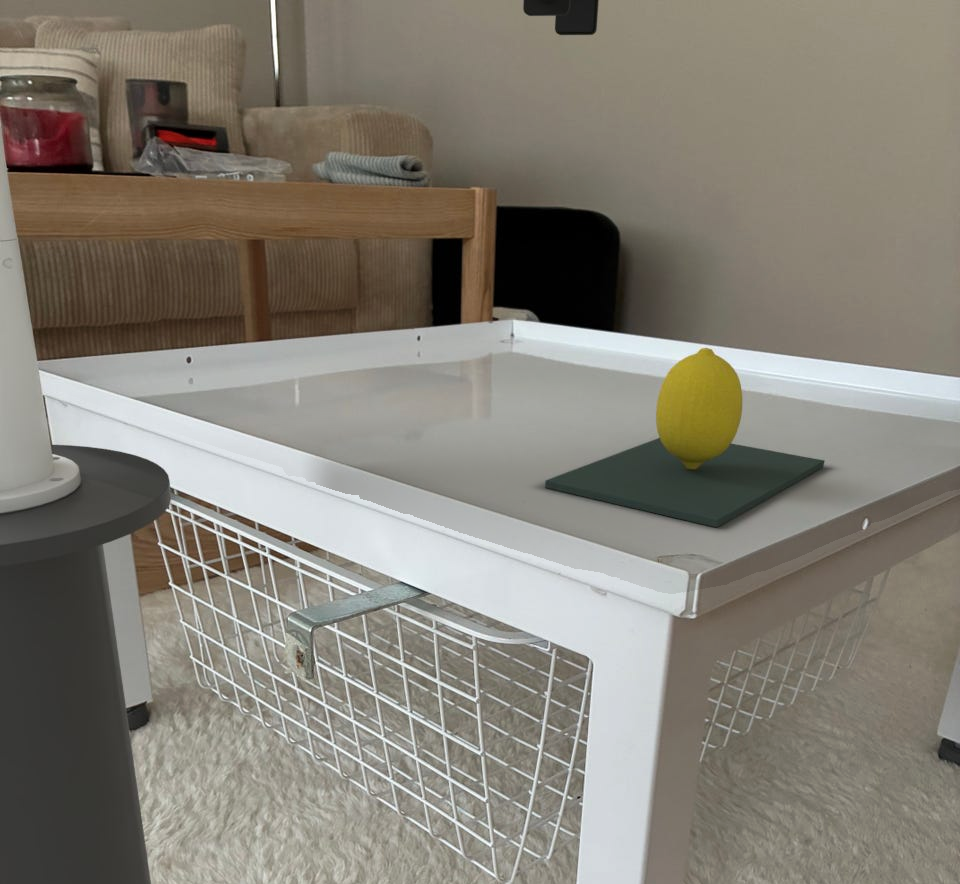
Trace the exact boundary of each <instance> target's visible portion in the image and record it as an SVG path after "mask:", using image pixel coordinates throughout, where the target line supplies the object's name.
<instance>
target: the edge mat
mask: <svg viewBox="0 0 960 884" xmlns="http://www.w3.org/2000/svg"><path fill="white" fill-rule="evenodd" d="M824 465H825V460H824V459H819V458H813V457H808V456H802V455H798V454H793V453H792V454H791V453H786V452H780V451H775V450H770V449H765V448H764V449H763V448H759V447H753V446H747V445H741V444H738V443H737V444H736V443H731V444H730V445H729V447H728V448H727V449H726V450H725V451H724V452H723V453H721V454H720V455H718V456H717V457H715V458H713V459H710V460H707V461H705V462H703V463H702V464H701V465H700V466H699V467H698V468H697V469H693V470H691V469H688V468H686V466H685V465H684V464H683V462H682V461H681V460H680V459H679V458H677V457H676V456H674V455H672V454H671V453H670V452H669V451H668V450H667V449H666V448H665V447H664V445H663V443H662V442H661V440H660V437H658V438H656V439H652V440H650V441H647V442H645V443H642V444H639V445H637V446H633V447H631V448H628V449H626V450H623V451H620V452H618V453H615V454H612V455H610V456H607V457H603V458H602V459H599V460H597V461H594V462H591V463H588V464H586V465H582V466H580V467H578V468H574V469H573V470H569V471H567V472H564V473H562V474H559V475H556V476H554V477H551V478H548V479H546V480H544V481H545V483H544V487H545V488H546V489H550V490H553V491H558V492H563V493H567V494H571V495H576V496H580V497H585V498H588V499H593V500H596V501H601V502H606V503H611V504H615V505H618V506H623V507H626V508H631V509H636V510H640V511H644V512H649V513H653V514H657V515H662V516H666V517H669V518H675V519H679V520H683V521H688V522H692V523H696V524H700V525H705V526H708V527H713V528H719V527H720V526H722V525H724V524H725V523H727V522H729V521H732V520H733V519H734V518H736V517H738V516H740V515H741V514H744V513H745V512H747V511H748V510H750V509H752V508H753V507H756V506H758V505H759V504H761V503H763V502H765V501H766V500H768V499H769V498H771V497H773V496H776V494H778V493H780V492H782V491H784V490H786V489H787V488H789V487H791V486H792V485H794V484H796V483H798V482H799V481H801V480H803V479H805V478H806V477H809V476H810V475H812V474H813V473H815V472H818V470H821V469H823V467H824Z"/></svg>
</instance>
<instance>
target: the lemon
mask: <svg viewBox="0 0 960 884" xmlns="http://www.w3.org/2000/svg"><path fill="white" fill-rule="evenodd" d="M655 410H656V411H655V422H656V430H657V434H658V438H660V440H661V442H662V443H663V445H664V447H665V448H666V449H667V450H668V451H669V452H670V453H671V454H672V455H674V456H676V457H677V458H679V459H680V460H681V461H682V462H683V464H684V465H685V466H686V468H688V469H691V470H693V469H697V468H698V467H699V466H700V465H701V464H702V463H703V462H705V461H707V460H710V459H713V458H715V457H717V456H718V455H720V454H721V453H723V452H724V451H725V450H726V449H727V448H728V447H729V445H730V444H733V441H734V439H735V437H736V435H737V433H738V430H739V427H740V424H741V421H742V420H741V419H742V414H743V389H742V384H741V380H740V377H739V375H738V373H737V372H736V370H735V369H734V367H733V366H732V365H731V364H730V362H728V361H727V360H726V359H724V358H722V357H721V356H719V355H717V354H715V352H714V350H713V348H708V347H702V348H700V349H699V350H698V351H697V352H696V353H693V354H690V355H688V356H685V357H684V358H682V359H681V360H679V361H678V362H677V363H675V364H674V365H673V366H672V367H671V368H670V370H669V371H668V372H667V374H666V376H665V378H664V379H663V382H662V384H661V387H660V390H659V394H658V398H657V403H656V409H655Z"/></svg>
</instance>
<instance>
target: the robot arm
mask: <svg viewBox="0 0 960 884" xmlns="http://www.w3.org/2000/svg"><path fill="white" fill-rule="evenodd" d="M599 1H600V0H523V2H522V3H523V4H522V5H523V7H522V8H523V13H524V14H525V15H527V16H529V17H553V16H554V18H555V19H554V20H555V21H554V31H555V34H557V35H559V36H593V35H594V34H595V33H596V32H597V31H598V30H597V29H598V16H599V15H598V13H599V3H600V2H599ZM5 152H6V151H5V144H4V137H3V129H2V120H1V117H0V514H4V513H10V512H15V511H21V510H25V509H29V508H34V507H38V506H41V505H45V504H48V503H51V502H54V501H56V500H59V499H61V498H63V497H66V496H67V495H69V494H71V493H72V492H74V491H75V490H76V489H77V488H78V486H79V485H80V482H81V477H80V472H79V467H78V465H77V464H76V463H75V462H73V461H72V460H69V459H67V458H65V457H62V456H58V455H54V454H52V450H51V445H52V443H51V438H50V433H49V432H50V431H49V425H48V418H47V414H46V413H47V412H46V407H45V401H44V393H43V388H42V382H41V375H40V374H41V373H40V368H39V361H38V356H37V349H36V343H35V337H34V332H33V331H34V330H33V325H32V319H31V318H32V317H31V312H30V306H29V301H28V300H29V298H28V293H27V287H26V282H25V281H26V280H25V273H24V268H23V262H22V255H21V250H20V248H21V247H20V242H19V237H18V232H17V227H16V220H15V214H14V207H13V200H12V195H11V188H10V181H9V180H10V179H9V175H8V174H9V173H8V168H7V161H6V153H5Z"/></svg>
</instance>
